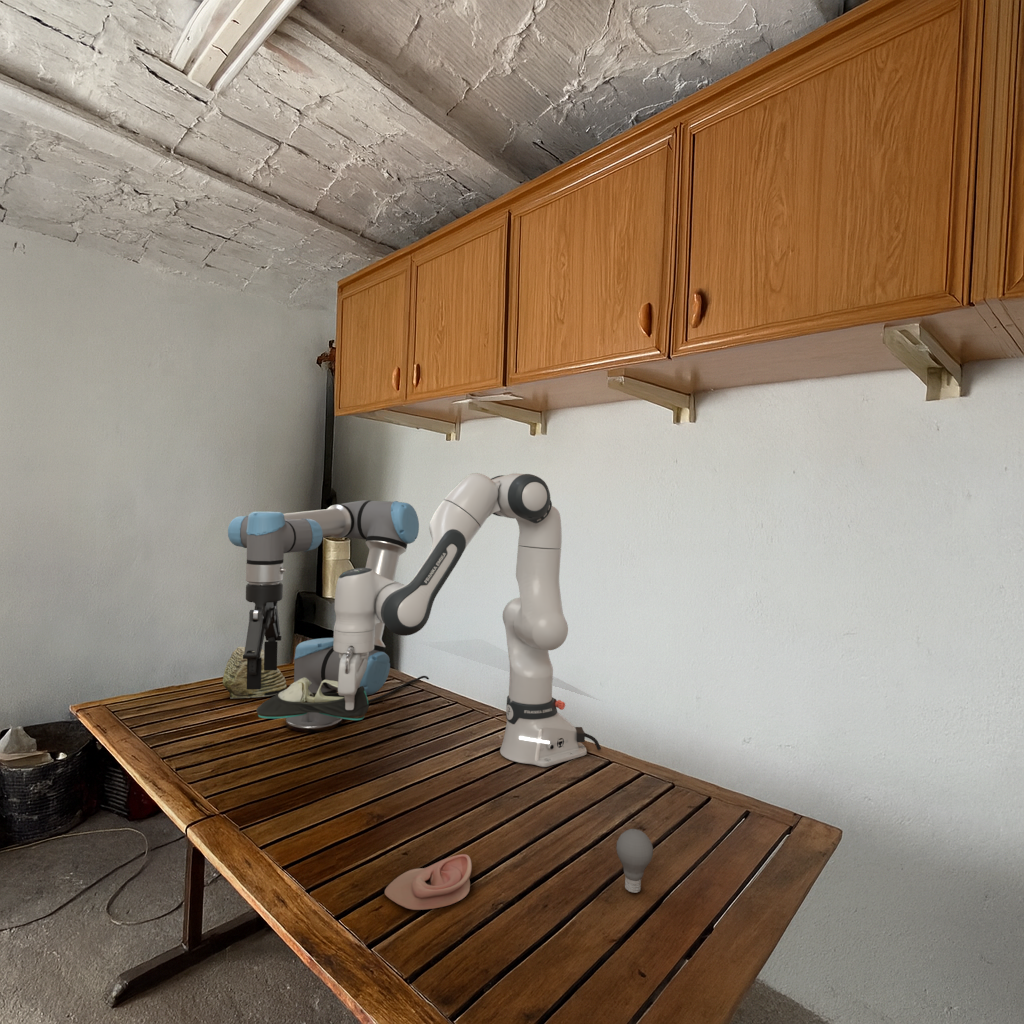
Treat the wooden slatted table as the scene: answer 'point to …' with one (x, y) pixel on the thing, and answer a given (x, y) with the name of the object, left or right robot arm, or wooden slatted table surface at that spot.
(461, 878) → the anatomical model
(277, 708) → the ballet flat
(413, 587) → the right robot arm
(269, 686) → the fossil
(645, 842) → the light bulb
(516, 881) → the wooden slatted table surface
